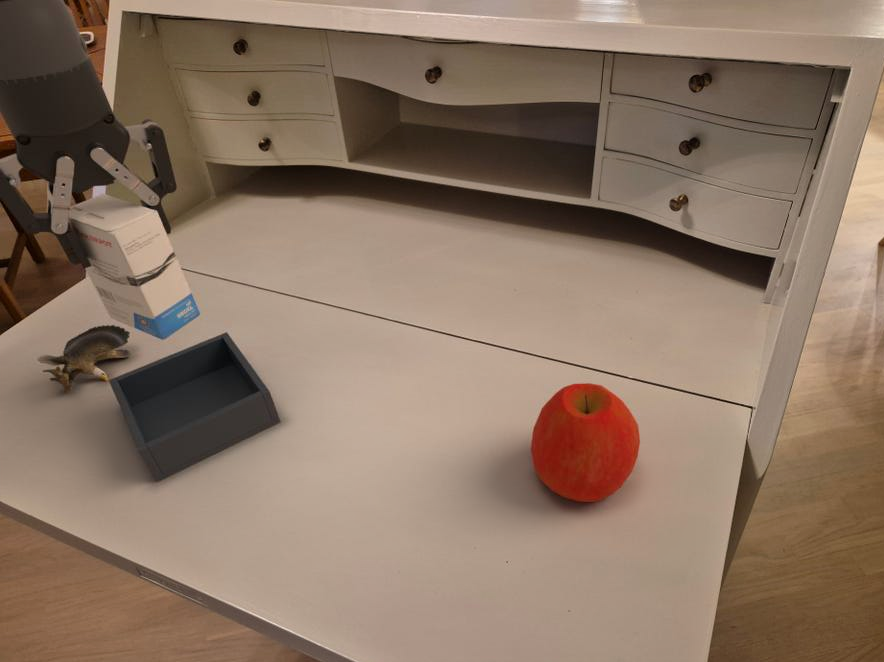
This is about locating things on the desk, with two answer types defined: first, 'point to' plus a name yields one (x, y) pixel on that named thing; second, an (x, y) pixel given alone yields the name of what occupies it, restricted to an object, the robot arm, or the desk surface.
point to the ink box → (133, 265)
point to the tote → (193, 405)
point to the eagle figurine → (87, 354)
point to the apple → (585, 443)
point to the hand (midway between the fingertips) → (124, 250)
